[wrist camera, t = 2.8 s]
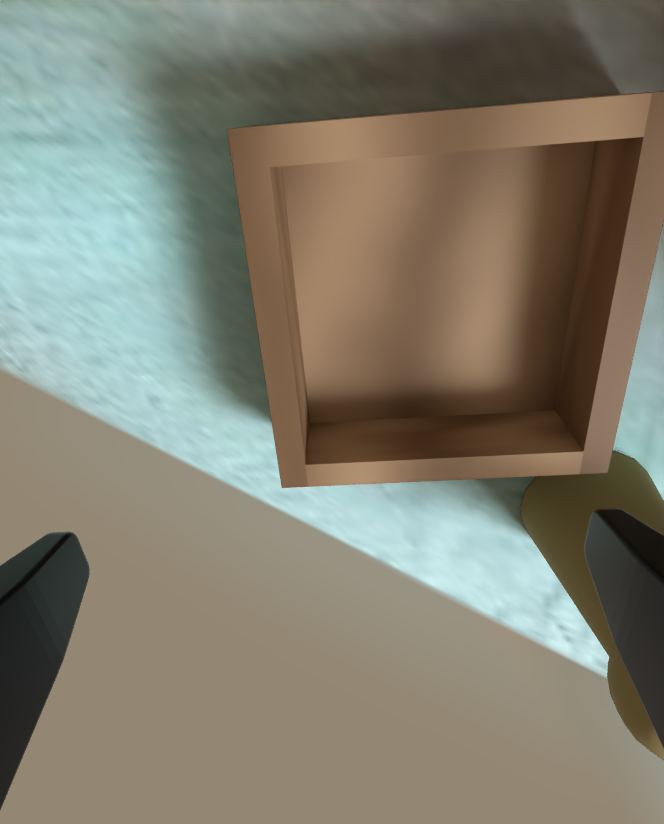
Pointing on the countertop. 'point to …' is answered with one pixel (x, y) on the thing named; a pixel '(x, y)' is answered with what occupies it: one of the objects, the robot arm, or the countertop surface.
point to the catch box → (451, 285)
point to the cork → (564, 551)
